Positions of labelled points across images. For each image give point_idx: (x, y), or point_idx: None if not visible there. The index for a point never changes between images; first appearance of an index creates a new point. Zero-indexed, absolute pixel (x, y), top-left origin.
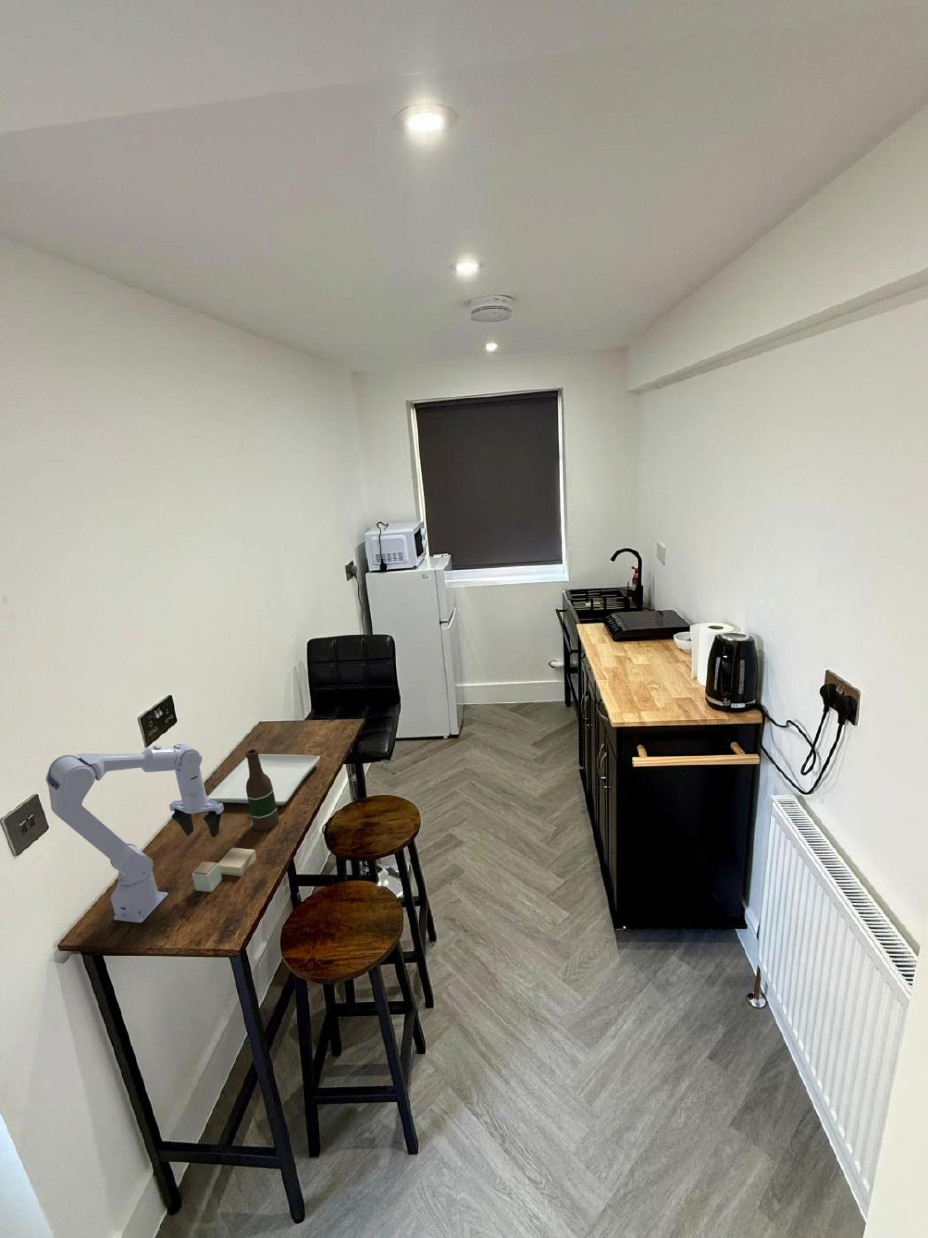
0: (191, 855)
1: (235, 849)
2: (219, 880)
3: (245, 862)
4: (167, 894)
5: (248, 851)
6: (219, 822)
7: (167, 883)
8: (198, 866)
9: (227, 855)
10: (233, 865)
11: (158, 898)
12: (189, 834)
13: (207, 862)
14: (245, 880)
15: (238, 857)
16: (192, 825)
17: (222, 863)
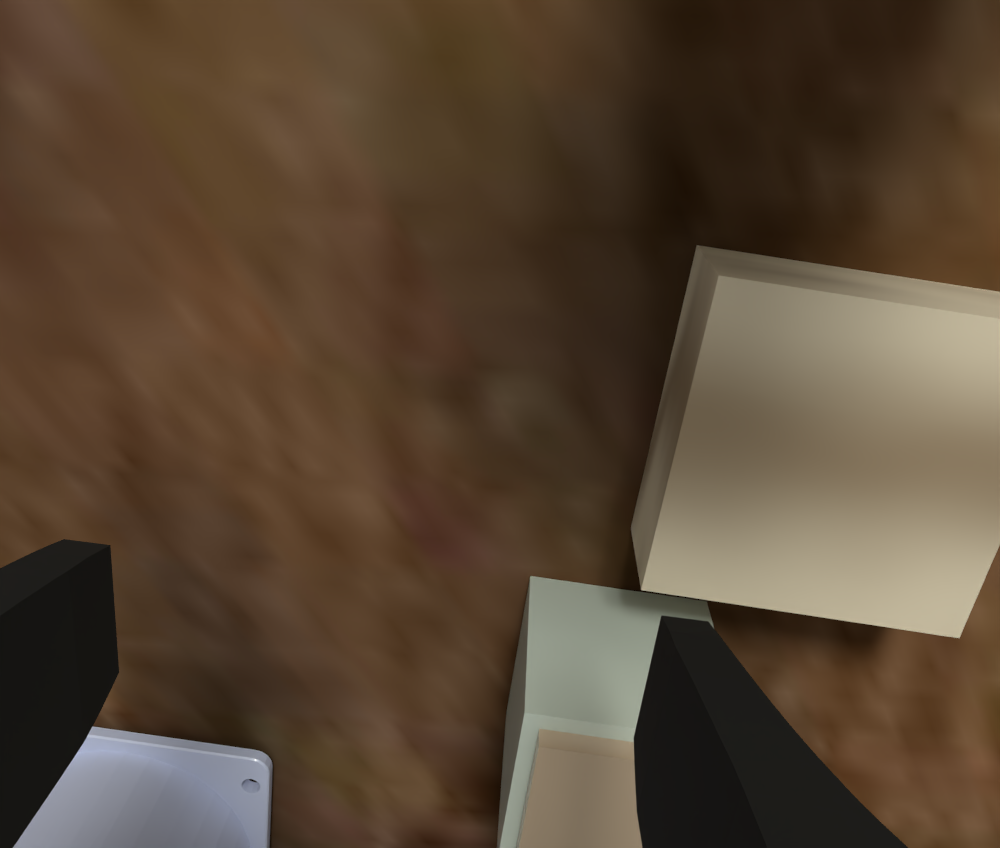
0: (116, 220)
1: (785, 315)
2: None
3: (993, 538)
4: (270, 762)
5: (997, 361)
6: (829, 775)
7: (160, 625)
8: (527, 818)
9: (713, 433)
10: (861, 600)
11: (237, 835)
12: (114, 660)
13: (612, 768)
14: (968, 623)
15: (883, 472)
16: (39, 610)
17: (704, 563)
